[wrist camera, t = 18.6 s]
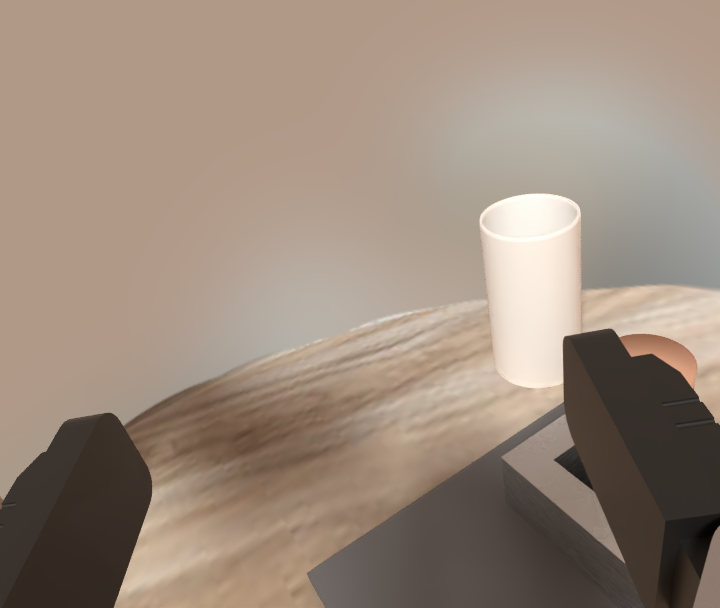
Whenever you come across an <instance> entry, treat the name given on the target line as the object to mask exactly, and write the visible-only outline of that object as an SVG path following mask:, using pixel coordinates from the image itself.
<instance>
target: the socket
mask: <svg viewBox="0 0 720 608" xmlns="http://www.w3.org/2000/svg"><path fill="white" fill-rule="evenodd" d="M501 463H502V472H503V481H504V490H505V499H506V503H507V504H508V505H510V506H511V507H512V508H513V509H514V510H515V511H516V512H517V513H518V514H519V515H520V516H521V517H522V518H523V519H525V520H526V521H527V522H528V523H529V524H530V525H531V526H532V527H533V528H534V529H535V530H536V531H537V532H538V533H540V534H541V535H542V536H543V537H544V538H545V539H546V540H547V541H548V542H549V543H550V544H551V545H552V546H553V547H555V548H556V549H557V550H558V551H559V552H560V553H561V554H562V555H563V556H564V557H565V558H566V559H567V560H568V561H569V562H571V563H572V564H573V565H574V566H575V567H576V568H577V569H578V570H579V571H580V572H581V573H582V574H583V575H584V576H586V577H587V578H588V579H589V580H590V581H591V582H592V583H593V584H594V585H595V586H596V587H597V588H598V589H599V590H601V591H602V592H603V593H604V594H605V595H606V596H607V597H608V598H609V599H610V600H611V601H612V602H613V603H614V604H616V605H617V606H618V607H619V608H644V606H643V603H642V601H641V599H640V596H639V594H638V592H637V589H636V587H635V585H634V582H633V580H632V578H631V575H630V573H629V571H628V568H627V566H626V564H625V561H624V559H623V557H622V554H621V552H620V550H619V547H618V545H617V543H616V540H615V538H614V535H613V533H612V531H611V528H610V526H609V524H608V521H607V519H606V517H605V514H604V512H603V510H602V507H601V505H600V503H599V500H598V498H597V496H596V493H595V492H594V491H593V490H591V489H590V488H589V487H588V486H586V485H585V483H587V482H588V481H589V480H590V479H589V477H588V475H587V472H586V470H585V468H584V465H583V463H582V461H581V458H580V456H579V454H578V451H577V449H576V447H575V444H574V442H573V439H572V437H571V434H570V431H569V427H568V424H567V419H566V414H564V415H562V416H561V417H560V418H558V419H557V420H555V421H554V422H552V423H551V424H549V425H548V426H546V427H545V428H543V429H542V430H540V431H539V432H537V433H536V434H534V435H533V436H531V437H530V438H528V439H527V440H525V441H524V442H523V443H521V444H520V445H518V446H517V447H515V448H514V449H512V450H511V451H509V452H508V453H506V454H505V455H503V456H502V457H501Z"/></svg>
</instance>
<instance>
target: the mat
mask: <svg viewBox="0 0 720 608" xmlns="http://www.w3.org/2000/svg"><path fill="white" fill-rule="evenodd" d="M564 414H565V407H564V402H563V403H562V404H560V405H559V406H557V407H556V408H554V409H553V410H551V411H550V412H548V413H547V414H545V415H544V416H542V417H541V418H539V419H538V420H536V421H535V422H533V423H532V424H530V425H529V426H527V427H526V428H524V429H523V430H521V431H520V432H518V433H517V434H515V435H514V436H512V437H511V438H509V439H508V440H506V441H505V442H503V443H502V444H500V445H499V446H497V447H496V448H494V449H493V450H491V451H490V452H488V453H487V454H485V455H484V456H482V457H481V458H479V459H478V460H476V461H475V462H473V463H472V464H470V465H469V466H467V467H466V468H464V469H463V470H461V471H460V472H458V473H457V474H455V475H454V476H452V477H451V478H449V479H448V480H446V481H445V482H443V483H442V484H440V485H439V486H437V487H436V488H434V489H433V490H431V491H430V492H428V493H427V494H425V495H424V496H422V497H421V498H419V499H418V500H416V501H415V502H413V503H412V504H410V505H409V506H407V507H406V508H404V509H403V510H401V511H400V512H398V513H397V514H395V515H394V516H392V517H391V518H389V519H388V520H386V521H385V522H383V523H382V524H380V525H379V526H377V527H376V528H374V529H373V530H371V531H370V532H368V533H367V534H365V535H364V536H362V537H360V538H359V539H357V540H356V541H354V542H353V543H351V544H350V545H348V546H347V547H345V548H344V549H342V550H341V551H339V552H338V553H336V554H335V555H333V556H332V557H330V558H329V559H327V560H326V561H324V562H323V563H321V564H320V565H318V566H317V567H315V568H314V569H312V570H311V571H309V572H308V573H307V575H308V577H309V579H310V581H311V583H312V585H313V587H314V588H315V590H316V592H317V593H318V595H319V597H320V599H321V600H322V602H323V604H324V606H325V607H326V608H619V607H618V606H617V605H616V604H614V603H613V602H612V601H611V600H610V599H609V598H608V597H607V596H606V595H605V594H604V593H603V592H602V591H601V590H599V589H598V588H597V587H596V586H595V585H594V584H593V583H592V582H591V581H590V580H589V579H588V578H587V577H586V576H584V575H583V574H582V573H581V572H580V571H579V570H578V569H577V568H576V567H575V566H574V565H573V564H572V563H571V562H569V561H568V560H567V559H566V558H565V557H564V556H563V555H562V554H561V553H560V552H559V551H558V550H557V549H556V548H555V547H553V546H552V545H551V544H550V543H549V542H548V541H547V540H546V539H545V538H544V537H543V536H542V535H541V534H540V533H538V532H537V531H536V530H535V529H534V528H533V527H532V526H531V525H530V524H529V523H528V522H527V521H526V520H525V519H523V518H522V517H521V516H520V515H519V514H518V513H517V512H516V511H515V510H514V509H513V508H512V507H511V506H510V505H508V504H507V503H506V499H505V490H504V481H503V472H502V463H501V457H502V456H503V455H505V454H506V453H508V452H509V451H511V450H512V449H514V448H515V447H517V446H518V445H520V444H521V443H523V442H524V441H525V440H527V439H528V438H530V437H531V436H533V435H534V434H536V433H537V432H539V431H540V430H542V429H543V428H545V427H546V426H548V425H549V424H551V423H552V422H554V421H555V420H557V419H558V418H560V417H561V416H562V415H564ZM585 485H586V486H588V487H589V488H590V489H591V490H593V486H592V484H591V482H590V480H589V481H588V482H587V483H585Z"/></svg>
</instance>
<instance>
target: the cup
mask: <svg viewBox="0 0 720 608" xmlns="http://www.w3.org/2000/svg"><path fill="white" fill-rule="evenodd" d="M480 232H481V243H482V252H483V262H484V270H485V280H486V289H487V299H488V308H489V317H490V326H491V336H492V345H493V354H494V363H495V367H496V370H497V371H498V373H499V374H500V375H501V376H502V377H503V378H504V379H506V380H507V381H509V382H511V383H513V384H515V385H518V386H522V387H527V388H548V387H553V386H557V385H560V384H562V383H564V382H563V339H564V337H565V336H569V335H575V334H580V333H581V214H580V208H579V206H578V205H577V204H576V203H575V202H574V201H572V200H570V199H568V198H566V197H562V196H558V195H553V194H525V195H519V196H514V197H510V198H506V199H503V200H501V201H499V202H496V203H494V204H492V205H491V206H489V207H488V208H487V209H485V210H484V211H483V213H482V214H481V216H480Z"/></svg>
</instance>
